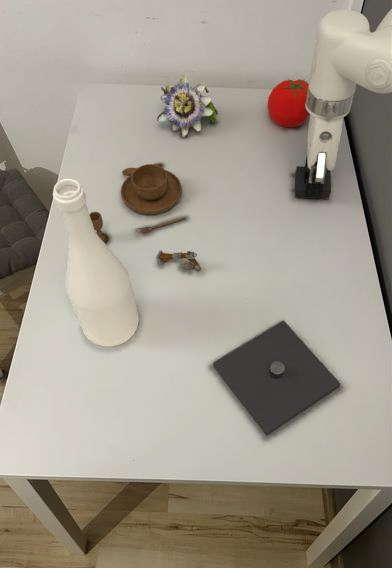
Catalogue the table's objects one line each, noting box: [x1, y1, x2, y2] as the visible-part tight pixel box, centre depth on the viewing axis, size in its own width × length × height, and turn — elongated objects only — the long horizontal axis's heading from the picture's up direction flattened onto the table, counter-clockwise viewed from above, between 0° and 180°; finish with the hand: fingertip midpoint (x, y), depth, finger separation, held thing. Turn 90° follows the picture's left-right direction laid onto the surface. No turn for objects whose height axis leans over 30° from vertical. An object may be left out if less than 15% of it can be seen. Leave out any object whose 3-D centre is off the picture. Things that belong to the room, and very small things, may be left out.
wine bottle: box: [52, 178, 140, 348], centre depth 71 cm, size 10×10×30 cm
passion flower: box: [156, 74, 219, 138], centre depth 107 cm, size 11×11×12 cm
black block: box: [294, 165, 332, 200], centre depth 98 cm, size 7×7×2 cm
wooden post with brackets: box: [155, 249, 202, 272], centre depth 89 cm, size 2×8×4 cm, turn 69°
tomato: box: [266, 78, 311, 128], centre depth 106 cm, size 9×10×8 cm
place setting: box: [89, 162, 186, 244], centre depth 96 cm, size 18×20×6 cm
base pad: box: [213, 319, 341, 436], centre depth 77 cm, size 14×14×3 cm
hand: (312, 182), depth 98 cm, fingers closed on black block, 6 cm apart
